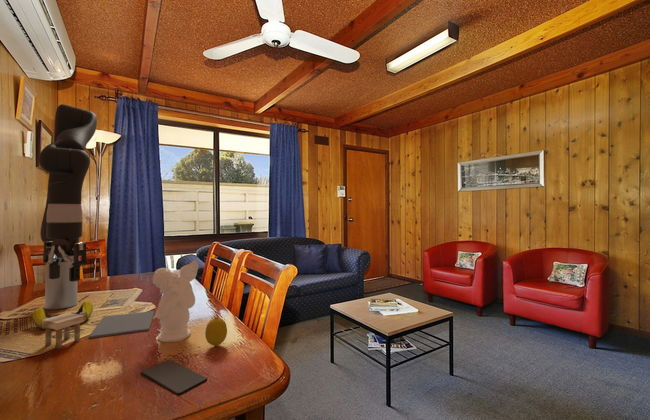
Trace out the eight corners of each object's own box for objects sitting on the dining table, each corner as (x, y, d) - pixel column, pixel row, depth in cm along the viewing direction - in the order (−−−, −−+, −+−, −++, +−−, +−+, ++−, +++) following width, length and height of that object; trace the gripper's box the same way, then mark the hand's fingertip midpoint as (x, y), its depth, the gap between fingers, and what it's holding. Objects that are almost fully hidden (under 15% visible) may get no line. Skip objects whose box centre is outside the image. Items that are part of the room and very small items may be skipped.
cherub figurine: (150, 345, 83) (150, 264, 83) (157, 329, 95) (156, 258, 95) (199, 338, 88) (198, 261, 88) (199, 323, 99) (199, 255, 99)
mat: (103, 318, 103) (103, 316, 103) (154, 312, 110) (154, 310, 110) (88, 338, 87) (88, 336, 87) (149, 330, 93) (149, 328, 93)
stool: (41, 346, 82) (41, 319, 82) (68, 337, 88) (68, 312, 88) (56, 350, 80) (57, 323, 80) (83, 340, 86) (83, 315, 86)
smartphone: (178, 393, 60) (139, 371, 69) (178, 398, 60) (139, 375, 69) (208, 378, 66) (169, 358, 74) (208, 382, 66) (169, 362, 74)
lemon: (214, 353, 79) (214, 322, 79) (200, 348, 82) (201, 318, 82) (231, 345, 83) (231, 316, 83) (217, 340, 86) (218, 312, 86)
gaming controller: (32, 325, 97) (31, 334, 90) (32, 307, 97) (31, 315, 90) (91, 314, 107) (95, 322, 100) (91, 299, 107) (95, 305, 100)
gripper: (96, 220, 85) (96, 279, 85) (63, 220, 90) (63, 275, 90) (66, 221, 78) (65, 285, 78) (32, 220, 83) (31, 280, 83)
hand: (64, 279), depth 84 cm, fingers open, 8 cm apart
